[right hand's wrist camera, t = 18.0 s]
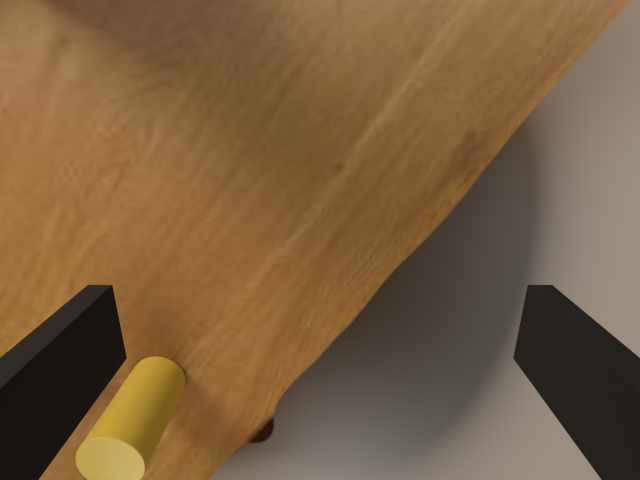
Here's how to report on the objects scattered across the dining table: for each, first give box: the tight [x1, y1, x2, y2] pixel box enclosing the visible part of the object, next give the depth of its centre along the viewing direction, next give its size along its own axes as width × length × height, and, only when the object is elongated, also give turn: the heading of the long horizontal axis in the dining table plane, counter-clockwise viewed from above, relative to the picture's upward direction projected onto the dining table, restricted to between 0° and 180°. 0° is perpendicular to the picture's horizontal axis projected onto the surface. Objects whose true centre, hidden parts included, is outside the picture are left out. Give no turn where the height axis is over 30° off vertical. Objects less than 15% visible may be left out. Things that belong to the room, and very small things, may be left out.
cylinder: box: [76, 356, 186, 480], centre depth 40 cm, size 6×6×11 cm
